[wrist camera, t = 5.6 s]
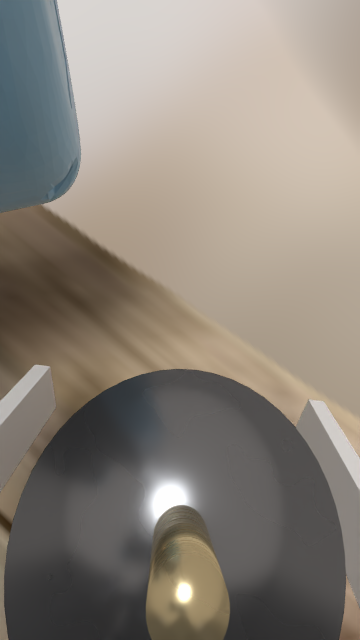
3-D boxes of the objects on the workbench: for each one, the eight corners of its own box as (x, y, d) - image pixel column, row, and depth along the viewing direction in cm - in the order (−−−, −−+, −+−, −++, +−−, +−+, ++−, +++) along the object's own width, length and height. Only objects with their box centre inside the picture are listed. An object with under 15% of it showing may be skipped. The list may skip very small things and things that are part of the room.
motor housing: (110, 430, 18) (-175, 568, 3) (176, 376, 19) (212, 285, 4) (161, 507, 16) (120, 1472, 2) (229, 444, 18) (536, 644, 3)
